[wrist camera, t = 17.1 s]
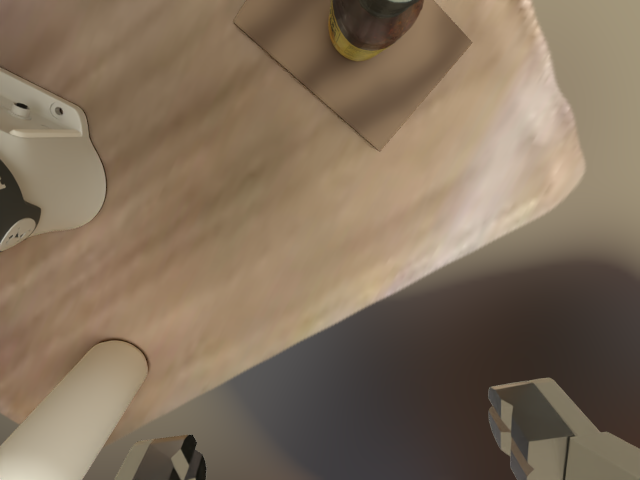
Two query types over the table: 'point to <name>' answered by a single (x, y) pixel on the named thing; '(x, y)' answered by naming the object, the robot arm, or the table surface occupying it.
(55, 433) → the alcohol
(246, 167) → the table surface
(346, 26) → the sauce bottle
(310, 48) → the walnut board
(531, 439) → the robot arm
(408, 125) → the table surface
